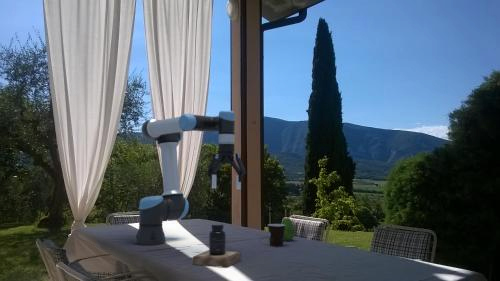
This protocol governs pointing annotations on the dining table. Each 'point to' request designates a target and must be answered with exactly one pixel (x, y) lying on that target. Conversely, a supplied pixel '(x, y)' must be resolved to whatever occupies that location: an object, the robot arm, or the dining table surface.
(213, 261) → the pedestal
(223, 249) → the supplement bottle
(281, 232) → the coffee mug
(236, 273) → the dining table surface
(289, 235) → the avocado
